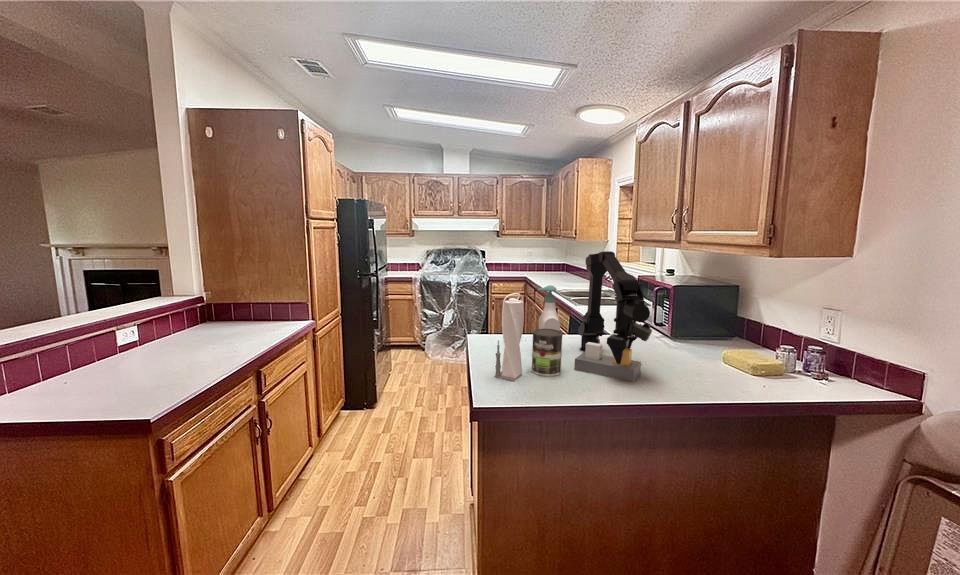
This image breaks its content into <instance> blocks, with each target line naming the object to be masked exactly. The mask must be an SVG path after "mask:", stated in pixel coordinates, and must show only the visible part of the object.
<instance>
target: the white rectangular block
mask: <svg viewBox="0 0 960 575" xmlns="http://www.w3.org/2000/svg"><path fill="white" fill-rule="evenodd" d="M584 352H585V358H589V359H594V360H599V361H600V360H601V359H602V355H603V343H600V344H598V343H592V342H588V343H586V349H585V351H584Z"/></svg>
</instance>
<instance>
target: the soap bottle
mask: <svg viewBox="0 0 960 575" xmlns="http://www.w3.org/2000/svg"><path fill="white" fill-rule="evenodd" d="M537 290H538V291H540V292H541V291H542V292H548V294H547V295H545V297H544V306H543V307H544V308H543V309H542V312H541V315H540V316H539V319H538V329H554V330H559V331H561V323H560V319H559V317H558V313H557V310H556V297H555V295H552V294H553V293H552V292H557V287H556V286H554V285H547V286H544V287H541V288H540V287H539V288H537Z"/></svg>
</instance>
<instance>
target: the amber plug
mask: <svg viewBox="0 0 960 575" xmlns="http://www.w3.org/2000/svg"><path fill="white" fill-rule="evenodd" d="M632 351H633V349H632V348H630V349H628V348H626V349H624V351H623V356H622V360H621V365H626V366H630V365H631V360H632V353H633V352H632ZM614 363H615V364H617V363H616V360H615V358H614Z"/></svg>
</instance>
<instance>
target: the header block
mask: <svg viewBox="0 0 960 575" xmlns="http://www.w3.org/2000/svg"><path fill="white" fill-rule="evenodd" d="M641 366H642V362H641V361H639V360H632V359H631V365H630V366H626V365H621V364H615V363H614V356H610V355H605V354H602V359H601V360H600V361H599V360H594V359H589V358H585V351H583V352H582V353H581V354H579V355H578V356H576V357H575V358H574V370H575V371H580V372H583V373H589V374H593V375H597V376H603V377H606V378H607V377H609V378H611V379H617V380H622V381H627V382H632V383H634V382H635V381H636V379H637V378H638V377H639V376H640V375H641V368H642V367H641Z"/></svg>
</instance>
